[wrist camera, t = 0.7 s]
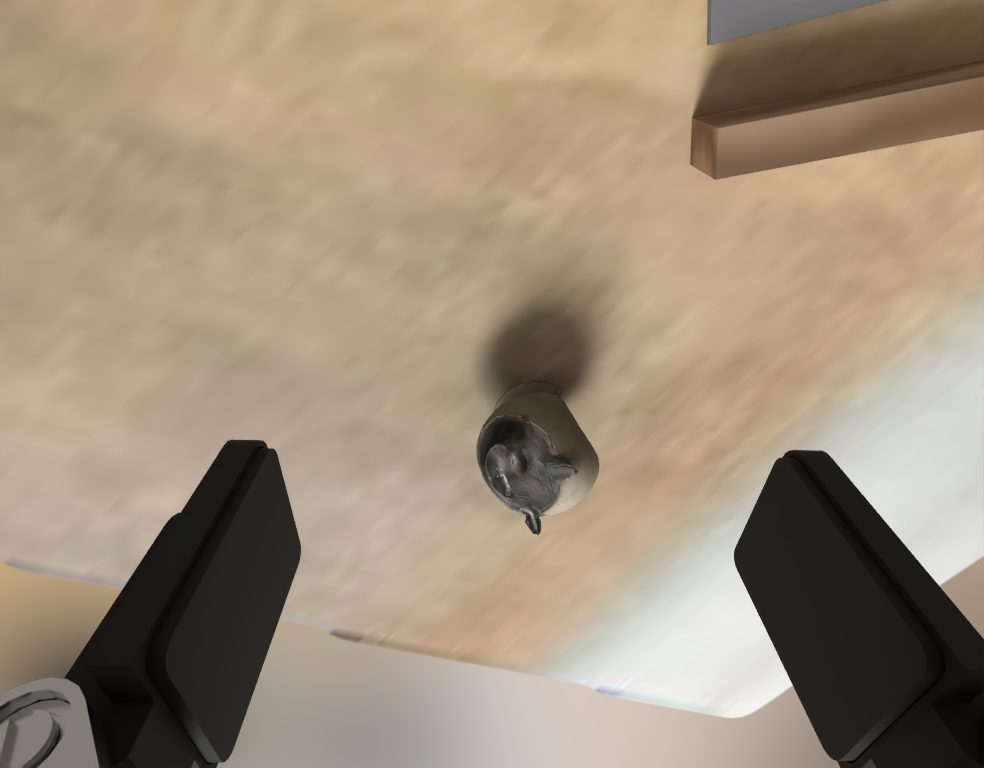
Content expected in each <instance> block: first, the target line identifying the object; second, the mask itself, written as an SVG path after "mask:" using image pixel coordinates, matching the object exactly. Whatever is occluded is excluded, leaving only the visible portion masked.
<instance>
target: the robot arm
mask: <svg viewBox="0 0 984 768" xmlns="http://www.w3.org/2000/svg"><path fill="white" fill-rule="evenodd" d="M300 555H301V545H300V540H299V536H298V532H297V528H296V525H295V521H294V517H293V513H292V509H291V505H290V502H289V498H288V494H287V490H286V486H285V482H284V478H283V475H282V471H281V467H280V463H279V459H278V455H277V452H276V451H275V449H268V447H267V445H266V443H265V442H264V441H261V440H229V441H227V442H226V444H225V445H224V446H223V448H222V449H221V451H220V452H219V454H218V455H217V457H216V459H215V460H214V462H213V463H212V465H211V466H210V468H209V470H208V471H207V473H206V474H205V476H204V477H203V479H202V480H201V482H200V484H199V485H198V487H197V488H196V490H195V491H194V493H193V494H192V496H191V498H190V499H189V501H188V502H187V504H186V505H185V507H184V509H183V510H182V512H181V513H177V514H176V515H174V516H173V517H171V518H170V520H169V521H168V522H167V523H166V524H165V526H164V527H163V529H162V530H161V532H160V533H159V535H158V536H157V538H156V539H155V541H154V543H153V544H152V546H151V547H150V549H149V550H148V552H147V553H146V555H145V556H144V558H143V559H142V561H141V562H140V564H139V565H138V567H137V568H136V570H135V571H134V573H133V574H132V576H131V578H130V579H129V581H128V582H127V584H126V585H125V587H124V588H123V590H122V591H121V593H120V594H119V596H118V597H117V599H116V600H115V602H114V604H113V605H112V607H111V608H110V610H109V611H108V613H107V614H106V616H105V617H104V619H103V620H102V622H101V623H100V625H99V626H98V628H97V629H96V631H95V632H94V634H93V635H92V637H91V639H90V640H89V641H88V643H87V645H86V646H85V648H84V649H83V651H82V652H81V654H80V655H79V657H78V658H77V660H76V661H75V663H74V664H73V666H72V667H71V669H70V670H69V672H68V674H67V675H66V677H65V678H64V679H60V678H46V679H41V680H37V681H31V682H28V683H26V684H24V685H21V686H19V687H17V688H14V689H12V690H10V691H8V692H6V693H4V694H3V695H1V696H0V768H216V767H217V764H218V762H225V761H226V760H227V759H228V758H229V757H230V755H231V753H232V751H233V748H234V746H235V743H236V740H237V737H238V735H239V732H240V729H241V726H242V723H243V720H244V717H245V715H246V712H247V709H248V706H249V703H250V701H251V697H252V695H253V692H254V689H255V686H256V683H257V681H258V678H259V674H260V672H261V669H262V666H263V663H264V661H265V658H266V655H267V652H268V649H269V646H270V644H271V641H272V638H273V635H274V632H275V630H276V627H277V624H278V621H279V618H280V615H281V613H282V610H283V607H284V604H285V601H286V598H287V595H288V593H289V590H290V587H291V584H292V581H293V578H294V576H295V573H296V570H297V567H298V564H299V561H300ZM734 561H735V565H736V568H737V570H738V572H739V575H740V577H741V579H742V581H743V583H744V585H745V587H746V589H747V591H748V593H749V595H750V597H751V599H752V601H753V604H754V606H755V608H756V610H757V612H758V614H759V616H760V618H761V620H762V622H763V624H764V626H765V628H766V631H767V633H768V635H769V637H770V639H771V641H772V643H773V645H774V647H775V649H776V651H777V653H778V655H779V657H780V660H781V662H782V664H783V666H784V668H785V670H786V672H787V674H788V676H789V678H790V680H791V682H792V684H793V686H794V689H795V691H796V693H797V695H798V697H799V699H800V701H801V703H802V705H803V707H804V709H805V711H806V713H807V715H808V717H809V719H810V722H811V724H812V726H813V728H814V730H815V732H816V734H817V736H818V738H819V740H820V742H821V744H822V746H823V748H824V750H825V751H826V753H827V754H828V755H829V756H830V757H831V758H832V759H833V760H836V761H838V763H839V765H840V768H984V639H983V638H982V637H981V635H980V634H979V633H978V632H977V631H976V629H975V628H974V627H973V626H972V625H971V624H970V622H969V621H968V620H967V619H966V617H965V616H964V615H963V614H962V613H961V612H960V610H959V609H958V608H957V607H956V606H955V604H954V603H953V602H952V601H951V600H950V598H949V597H948V596H947V595H946V594H945V592H944V591H943V590H942V589H941V588H940V586H939V585H938V584H937V583H936V582H935V581H934V579H933V578H932V577H931V576H930V575H929V573H928V572H927V571H926V570H925V569H924V567H923V566H922V565H921V564H920V563H919V561H918V560H917V559H916V558H915V557H914V555H913V554H912V553H911V552H910V551H909V550H908V548H907V547H906V546H905V545H904V544H903V542H902V541H901V540H900V539H899V538H898V536H897V535H896V534H895V533H894V532H893V530H892V529H891V528H890V527H889V526H888V525H887V523H886V522H885V521H884V520H883V519H882V517H881V516H880V515H879V514H878V513H877V511H876V510H875V509H874V508H873V507H872V505H871V504H870V503H869V502H868V501H867V499H866V498H865V497H864V496H863V495H862V494H861V492H860V491H859V490H858V489H857V488H856V486H855V485H854V484H853V483H852V482H851V480H850V479H849V478H848V477H847V476H846V474H845V473H844V472H843V471H842V470H841V468H840V467H839V466H838V465H837V464H836V463H835V461H834V460H833V459H832V458H831V457H830V456H829V455H828V454H827V453H826V452H823V451H810V450H791V451H788V452H787V453H785V455H784V456H783V458H779V459H777V460H776V462H775V463H774V465H773V468H772V470H771V472H770V474H769V476H768V478H767V481H766V483H765V485H764V487H763V489H762V491H761V494H760V496H759V498H758V500H757V502H756V504H755V507H754V509H753V511H752V513H751V515H750V517H749V520H748V522H747V524H746V526H745V528H744V530H743V532H742V535H741V537H740V539H739V541H738V543H737V545H736V548H735V551H734Z"/></svg>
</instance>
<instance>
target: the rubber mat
mask: <svg viewBox="0 0 984 768" xmlns="http://www.w3.org/2000/svg"><path fill="white" fill-rule="evenodd" d="M883 1H887V0H708V27H707V45H712V44H716V43H720V42H724V41H728V40H732V39H736V38H740V37H744V36H748V35H752V34H755V33H759V32H763V31H767V30H771V29H775V28H779V27H783V26H787V25H791V24H795V23H799V22H803V21H807V20H811V19H815V18H819V17H823V16H827V15H831V14H835V13H839V12H843V11H847V10H851V9H855V8H859V7H863V6H867V5H871V4H875V3H879V2H883Z"/></svg>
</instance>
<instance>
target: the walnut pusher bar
mask: <svg viewBox="0 0 984 768" xmlns="http://www.w3.org/2000/svg"><path fill="white" fill-rule="evenodd" d="M979 130H984V61H979V62H974V63H969V64H964V65H959V66H954V67H949V68H944V69H939V70H934V71H929V72H923V73H918V74H913V75H908V76H903V77H898V78H893V79H888V80H883V81H878V82H873V83H868V84H863V85H858V86H853V87H848V88H843V89H838V90H832V91H827V92H822V93H817V94H812V95H807V96H802V97H797V98H792V99H787V100H782V101H777V102H772V103H767V104H762V105H757V106H752V107H747V108H741V109H736V110H731V111H726V112H721V113H716V114H711V115H706V116H701V117H696V118H692V132H691V161H690V165H692V166H694V167H695V168H697V169H699V170H700V171H702V172H704V173H705V174H707V175H709V176H710V177H712V178H713V179H715V180H716V179H721V178H727V177H732V176H737V175H743V174H748V173H753V172H759V171H764V170H769V169H775V168H780V167H786V166H791V165H796V164H802V163H807V162H812V161H818V160H823V159H828V158H834V157H839V156H845V155H850V154H855V153H861V152H866V151H871V150H877V149H882V148H887V147H893V146H898V145H903V144H909V143H914V142H920V141H925V140H930V139H936V138H941V137H946V136H952V135H957V134H962V133H968V132H973V131H979Z"/></svg>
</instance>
